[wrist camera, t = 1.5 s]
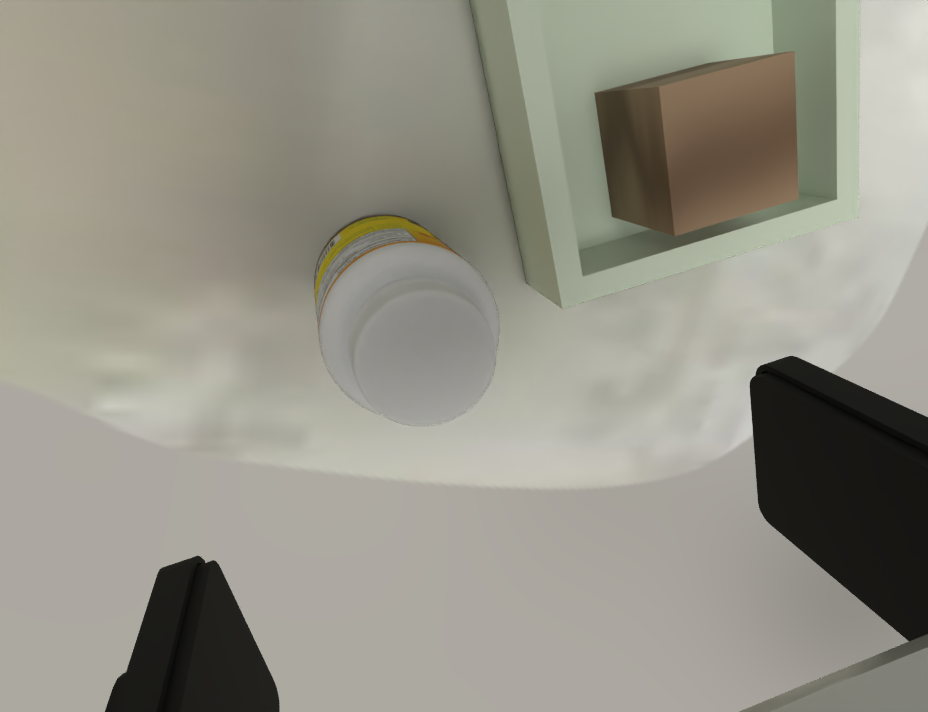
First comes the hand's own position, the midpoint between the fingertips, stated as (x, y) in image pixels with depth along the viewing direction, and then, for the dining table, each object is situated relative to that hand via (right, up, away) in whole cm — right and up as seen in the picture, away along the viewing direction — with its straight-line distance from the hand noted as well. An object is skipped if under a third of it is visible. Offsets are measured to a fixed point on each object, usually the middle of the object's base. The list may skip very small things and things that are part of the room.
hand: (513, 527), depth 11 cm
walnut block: (+7, +12, +16) cm, 21 cm away
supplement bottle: (-4, +6, +16) cm, 18 cm away
